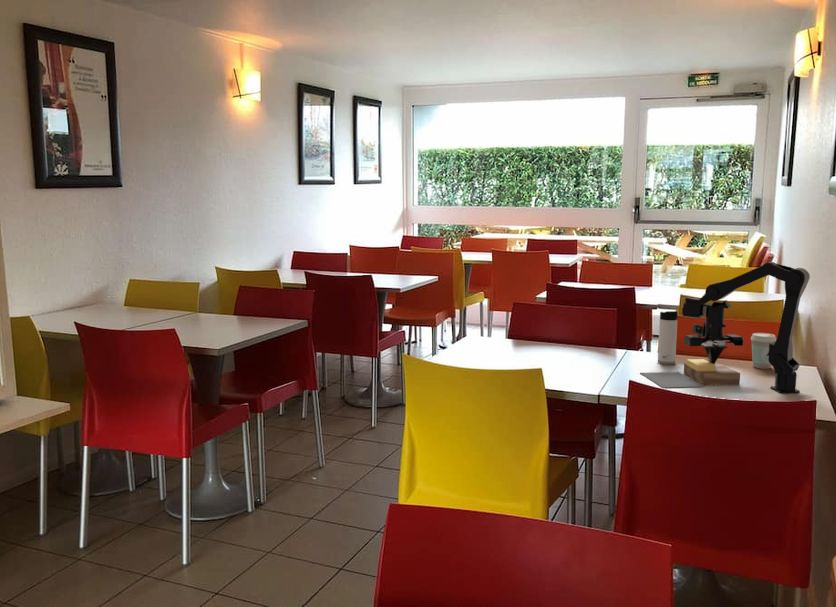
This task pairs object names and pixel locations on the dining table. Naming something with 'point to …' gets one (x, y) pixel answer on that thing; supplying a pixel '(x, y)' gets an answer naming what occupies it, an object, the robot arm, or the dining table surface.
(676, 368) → the dining table surface
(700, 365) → the yellow flat block
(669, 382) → the mat
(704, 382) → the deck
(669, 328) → the travel mug
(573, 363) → the dining table surface
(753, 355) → the coffee cup
